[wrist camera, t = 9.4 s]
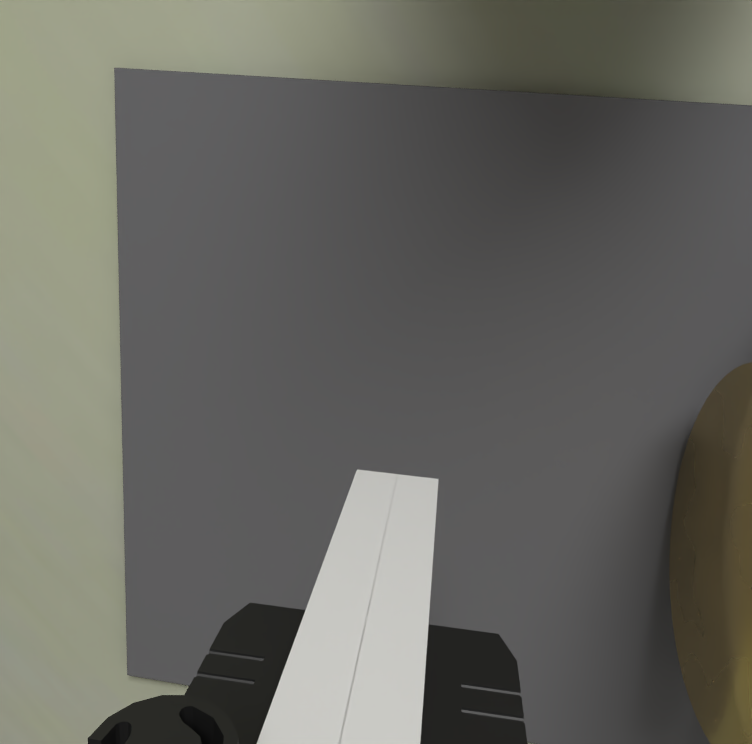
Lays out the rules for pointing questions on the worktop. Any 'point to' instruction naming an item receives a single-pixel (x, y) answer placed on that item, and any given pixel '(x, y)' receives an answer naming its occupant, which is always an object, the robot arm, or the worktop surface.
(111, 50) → the worktop surface
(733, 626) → the pin
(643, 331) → the mat
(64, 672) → the worktop surface
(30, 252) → the worktop surface
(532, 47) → the worktop surface
